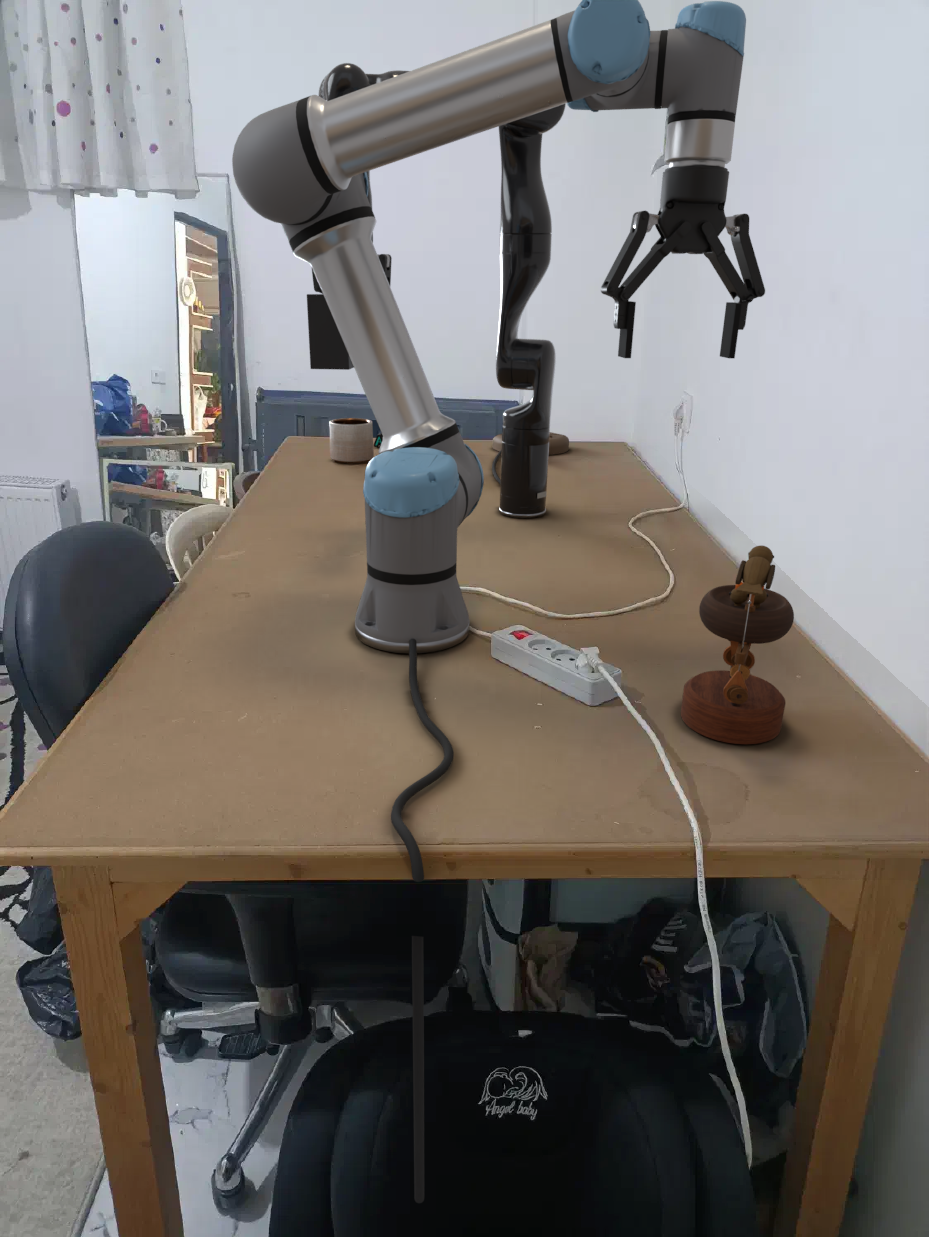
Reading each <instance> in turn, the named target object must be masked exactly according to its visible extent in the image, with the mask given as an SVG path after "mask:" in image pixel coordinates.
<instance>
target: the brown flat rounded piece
mask: <svg viewBox="0 0 929 1237" xmlns="http://www.w3.org/2000/svg"><path fill="white" fill-rule="evenodd" d="M491 442H492V446H491V448H492V449H493V450H495V451H496V452H500V451H501V449H502V433H498V434H496V435H495V436H494V437H493V438H492V441H491ZM569 450H570V439H569V437H568V436H567V435H565V434H560V433H556V432H553V431H552V432H551V431H550V434H549V454H548V456H550V455H561V454H565V453H566V452H568V451H569Z"/></svg>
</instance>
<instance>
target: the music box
mask: <svg viewBox="0 0 929 1237" xmlns="http://www.w3.org/2000/svg"><path fill="white" fill-rule="evenodd" d="M747 556H748V559H747V560H741V562H740V564H739V567H738V570H737V574H736V577H735V581H734V582H735V583H734V584H725V585H719V586H715V587H714V588H711V589H710V590H709V591H707V592H706V593H705V594H704V596H703V597H702V599H701V600H700V604H699V609H698V612H699V618H700V620H701V622H702V624H703V626H704V627H705V628H706V629H707V630H708V631H709V632H710V633H712V634H714V635H715V636H717V637H719V638H721V639H724V640H727V641H728V642H729V643H730V645H729V646H727V647H726V648H725V649H724V650H723V653H722V658H723V661H724V663H725V664H726V665H728V666H730V668H729V670H724V669H723V670H722V669H721V670H719V669H718V670H709V671H704V672H700V673H698V674H697V675H695V676H692V677H691V678H690V679H688V680H687V681H686V682H685V683H684V686H683V692H682V699H681V708H680V716H681V717H680V718H681V719H682V721H683V722H684V724H685V725H686V726H687V727H689V729H691V730H693V731H694V732H696V733H697V734H699V735H701V736H704V737H706V738H709V739H712V740H715V741H718V742H723V743H728V744H735V745H757V744H761V743H762V744H763V743H766V742H769V741H772V740H774V739H775V738H776V737H777V736H778V735H779V734H780V733H781V730H782V725H783V719H784V713H785V709H786V698H785V697H784V695H783V694H782V692H780V690H779V689H778V688H777V687H776V686H775V685H773V684H772V683H770V682H769V681H767V680H765V679H763V678H761V677H759V676H756V675H753V674H751V669H752V668H753V667H754V665H755V663H756V658H755V655H754V653H753V652H752V651H751V650H750V649H751V647H752V645H761V644H769V643H773V642H775V641H778V640H781V639H782V638H783V637H785V636H787V634H788V633H789V632H790V630H791V629H792V627H793V625H794V620H795V613H794V609H793V606H792V604H791V602H790V601H789V600H788V598H786V597H785V596H784V595H783V594H781V593H778V592H776V591H774V590H771V587H772V584H773V581H774V578H775V572H776V565H775V564H772V563H773V561H774V560H773V559H775V555H774V554H773V552H772V550H771V549H770V548H769V547H768V546H765V545H756V546H754V547H752V549H750V551H749V552H748V553H747Z"/></svg>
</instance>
